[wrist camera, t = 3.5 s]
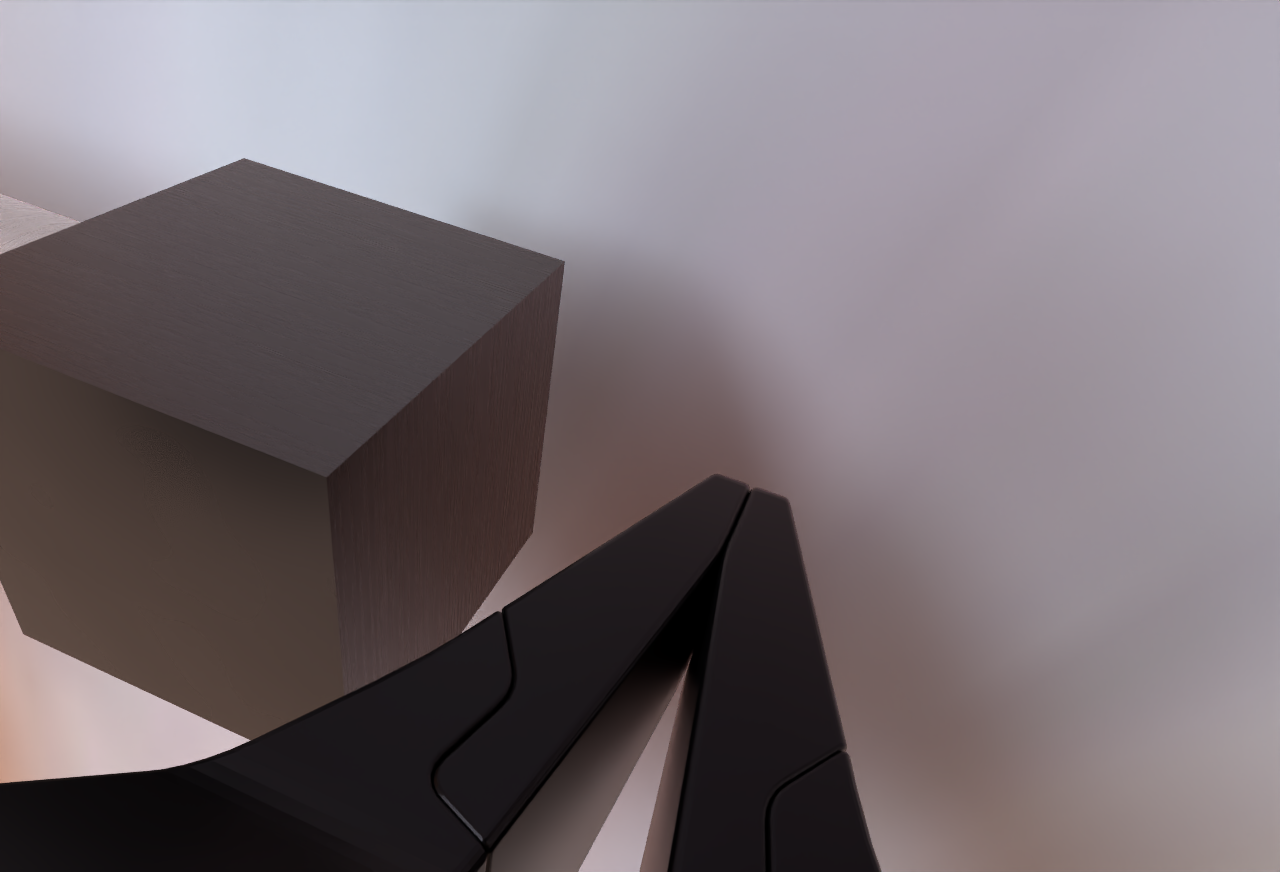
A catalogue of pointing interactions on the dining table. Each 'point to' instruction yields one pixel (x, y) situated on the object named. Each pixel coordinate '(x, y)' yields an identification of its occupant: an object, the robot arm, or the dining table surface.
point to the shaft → (263, 435)
